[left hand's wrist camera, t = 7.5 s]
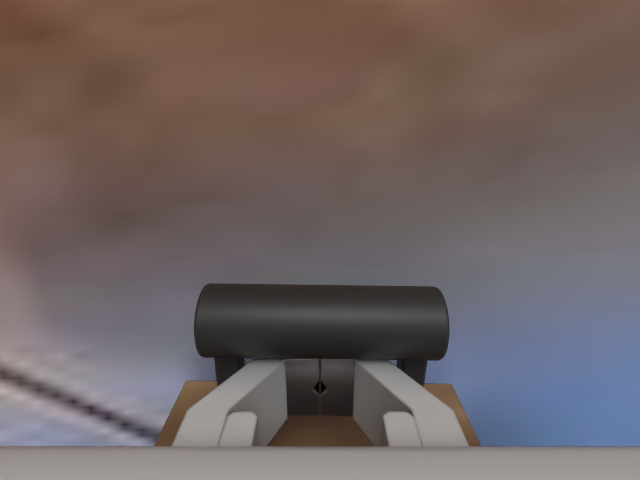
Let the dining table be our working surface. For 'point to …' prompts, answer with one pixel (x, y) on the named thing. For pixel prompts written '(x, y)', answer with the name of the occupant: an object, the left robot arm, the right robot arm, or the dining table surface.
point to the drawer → (318, 344)
